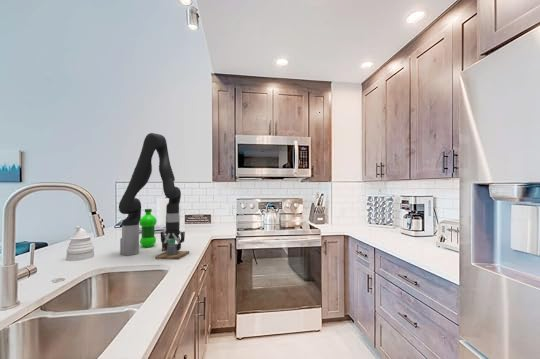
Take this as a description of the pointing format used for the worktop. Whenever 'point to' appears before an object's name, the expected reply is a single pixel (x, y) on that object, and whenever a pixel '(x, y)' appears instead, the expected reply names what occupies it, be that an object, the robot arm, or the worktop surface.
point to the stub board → (177, 256)
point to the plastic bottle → (148, 229)
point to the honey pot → (80, 246)
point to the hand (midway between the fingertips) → (172, 249)
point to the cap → (172, 249)
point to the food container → (171, 241)
